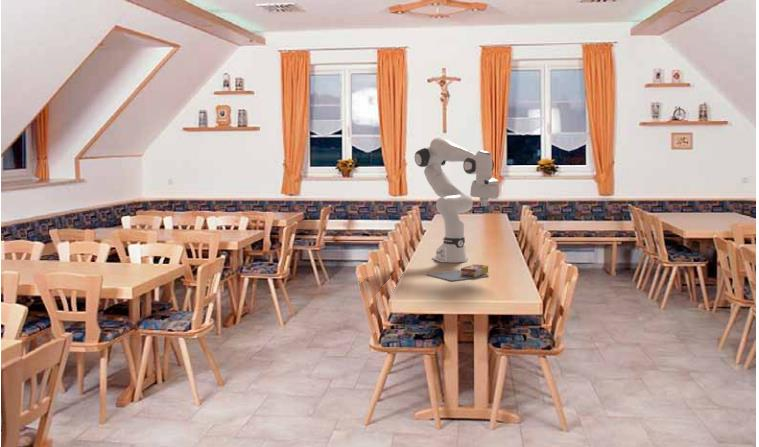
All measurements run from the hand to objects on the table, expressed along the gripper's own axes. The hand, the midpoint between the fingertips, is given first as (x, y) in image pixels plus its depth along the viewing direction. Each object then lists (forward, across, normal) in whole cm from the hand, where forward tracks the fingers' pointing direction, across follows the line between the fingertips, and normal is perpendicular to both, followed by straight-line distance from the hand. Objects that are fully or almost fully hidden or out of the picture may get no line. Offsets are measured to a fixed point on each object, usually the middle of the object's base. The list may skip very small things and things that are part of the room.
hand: (484, 206), depth 425 cm
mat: (+35, +8, -24) cm, 43 cm away
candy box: (+33, +8, -8) cm, 35 cm away
